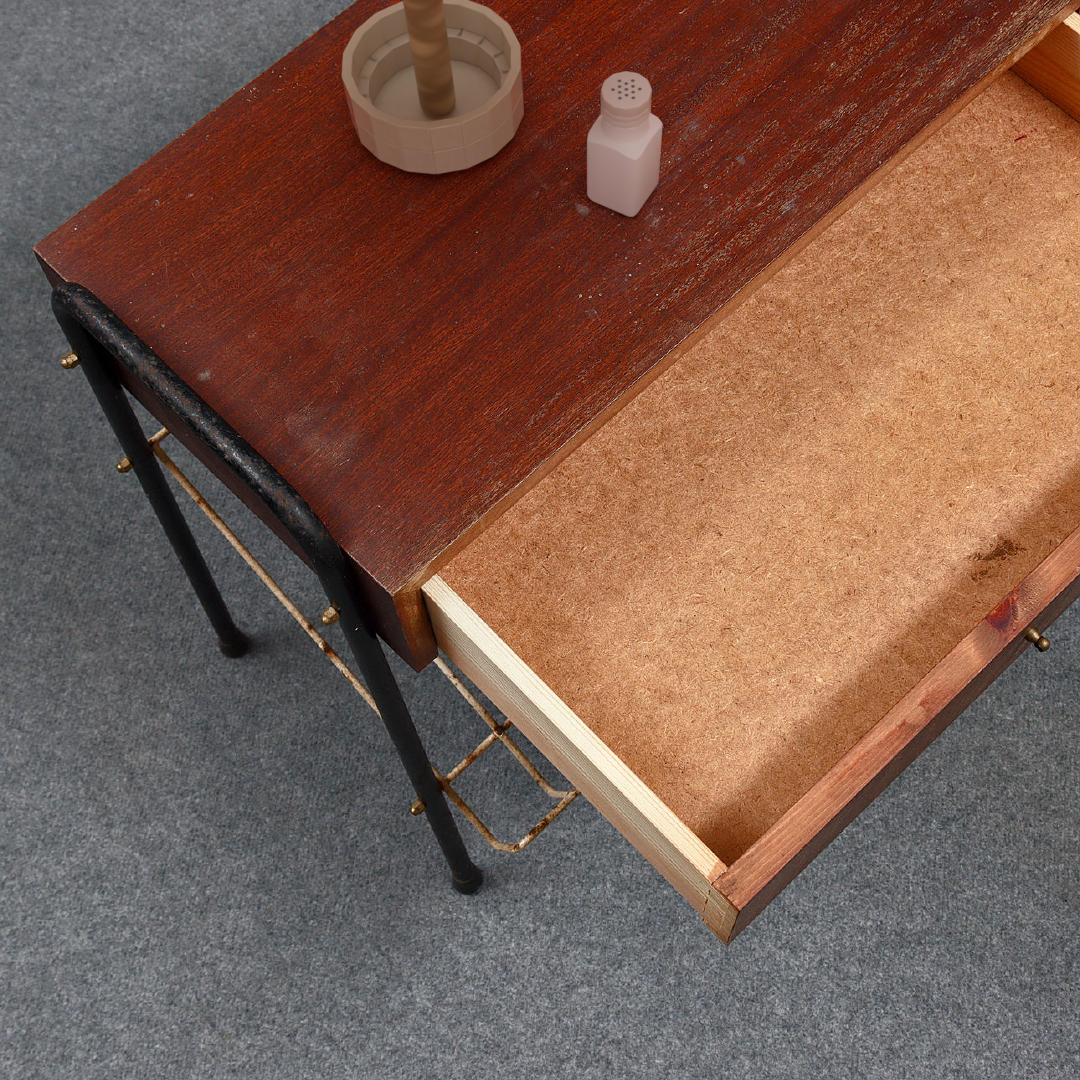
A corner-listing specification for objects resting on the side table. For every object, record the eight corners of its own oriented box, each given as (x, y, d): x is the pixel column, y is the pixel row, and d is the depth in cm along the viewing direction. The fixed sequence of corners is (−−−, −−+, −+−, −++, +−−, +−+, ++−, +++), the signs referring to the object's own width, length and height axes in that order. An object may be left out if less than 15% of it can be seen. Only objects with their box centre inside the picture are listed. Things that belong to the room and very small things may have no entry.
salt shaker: (611, 162, 89) (614, 57, 81) (661, 183, 88) (669, 79, 80) (583, 201, 88) (583, 98, 79) (634, 223, 87) (639, 122, 78)
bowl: (349, 183, 89) (337, 132, 85) (358, 53, 95) (346, -2, 90) (525, 177, 89) (521, 125, 85) (523, 46, 95) (519, -9, 90)
